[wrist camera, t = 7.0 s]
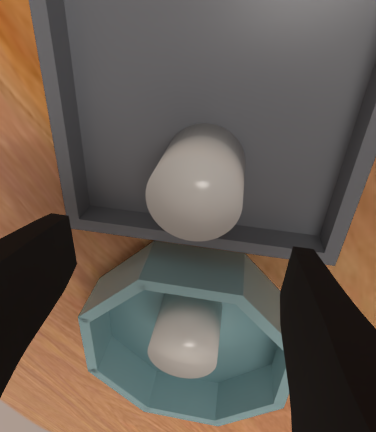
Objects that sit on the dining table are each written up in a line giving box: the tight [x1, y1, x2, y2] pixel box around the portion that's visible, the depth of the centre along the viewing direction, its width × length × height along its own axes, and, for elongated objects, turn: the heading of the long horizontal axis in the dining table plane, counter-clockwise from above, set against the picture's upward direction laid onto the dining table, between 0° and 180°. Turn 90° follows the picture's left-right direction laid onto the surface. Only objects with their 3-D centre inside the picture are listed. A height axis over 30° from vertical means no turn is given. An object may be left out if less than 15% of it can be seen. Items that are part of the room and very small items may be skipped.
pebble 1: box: [145, 123, 245, 241], centre depth 16 cm, size 4×4×4 cm
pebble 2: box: [148, 293, 223, 379], centre depth 21 cm, size 4×4×4 cm
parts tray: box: [29, 0, 376, 266], centre depth 15 cm, size 14×16×2 cm
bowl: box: [78, 241, 289, 426], centre depth 23 cm, size 13×13×4 cm
